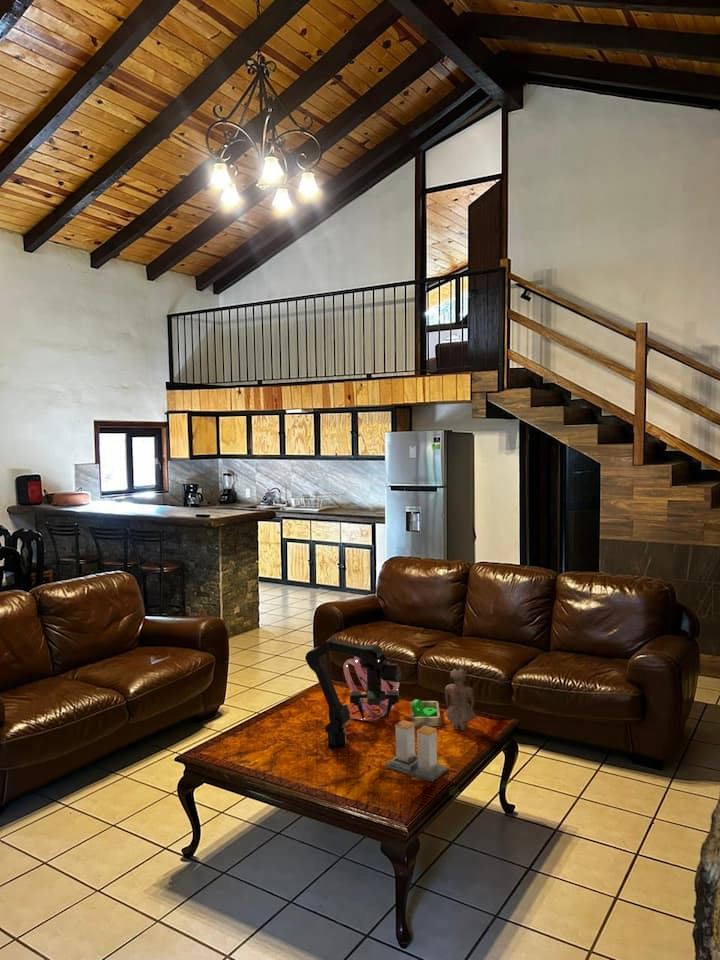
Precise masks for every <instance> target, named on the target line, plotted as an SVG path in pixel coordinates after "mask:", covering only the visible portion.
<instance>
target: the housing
mask: <svg viewBox="0 0 720 960" xmlns="http://www.w3.org/2000/svg"><path fill="white" fill-rule="evenodd" d="M416 736H417V737H416V739H417V742H416V743H417V744H416V745H417V747H416V748H417V755H416V754H415V762H413V763H412V764H411V765H407V764H403V763H400V762H397V761H396V756H394V757H393V758H392V759H390V760H389V761H388V762H387V763H385V765H384V766H385V768H387V769H390V770H393V771H396V772H398V773H403V774H406V775H409V776H412V777H414V778H418V779H420V780H424V781H427V780H428V782H430V781H432V782H431V783H434V782H435V781H436V780H437V779H438V778H440V777H441V776H442V775H444V774H445V773H446V772H447V770H448V768H447V766H443V765H440V764H438V749H437V748H438V747H437V746H438V745H437V743H438V741H437V740H438V739H437V728H435V727H433V726H425V725H424V726H420V728H418V729H417V730H416ZM445 771H446V772H445ZM444 772H445V773H444ZM441 774H442V775H441ZM440 775H441V776H440ZM439 776H440V777H439ZM435 779H436V780H435ZM434 780H435V781H434ZM433 781H434V782H433Z"/></svg>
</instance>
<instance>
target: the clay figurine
mask: <svg viewBox="0 0 720 960" xmlns="http://www.w3.org/2000/svg"><path fill="white" fill-rule="evenodd" d="M449 675H450V678H451V679H452V680H453V682H454V683H450V684H447V685H446V686H445V688H444V696H445V697H444V698H445V704H446V707H447V709H446V711H445V716H446V718H447V719H448V720H449V722H450V723H451V724H452V725H453V726H452V729H456V730H458V729H460V730H461V731H466V730H467V729H468V728H469V726H468V725H467V724H468V721H471V720H473V719H475V718H476V714H475V712H474V706H475V692H474V689H473V688H472V687H470V686H468V685H465V684H464V683H465V681H466V679H467V674H466V671H465V670H464V669H462V668H461V667H460V668H459V667H456V668H454V669H452V670H451V671H450V674H449ZM459 727H460V728H459Z"/></svg>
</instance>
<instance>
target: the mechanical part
mask: <svg viewBox="0 0 720 960" xmlns="http://www.w3.org/2000/svg"><path fill="white" fill-rule="evenodd" d="M412 701H413V702H412V705H411V704H410V709H411V710H410V712H411V711H414V717H436V716H437V710H436V709H435V708H432V707H429V706H428V707H426V708H424V709H423V703H422V701H423V700H420V699H417V698H416V699H414V700H412Z"/></svg>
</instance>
